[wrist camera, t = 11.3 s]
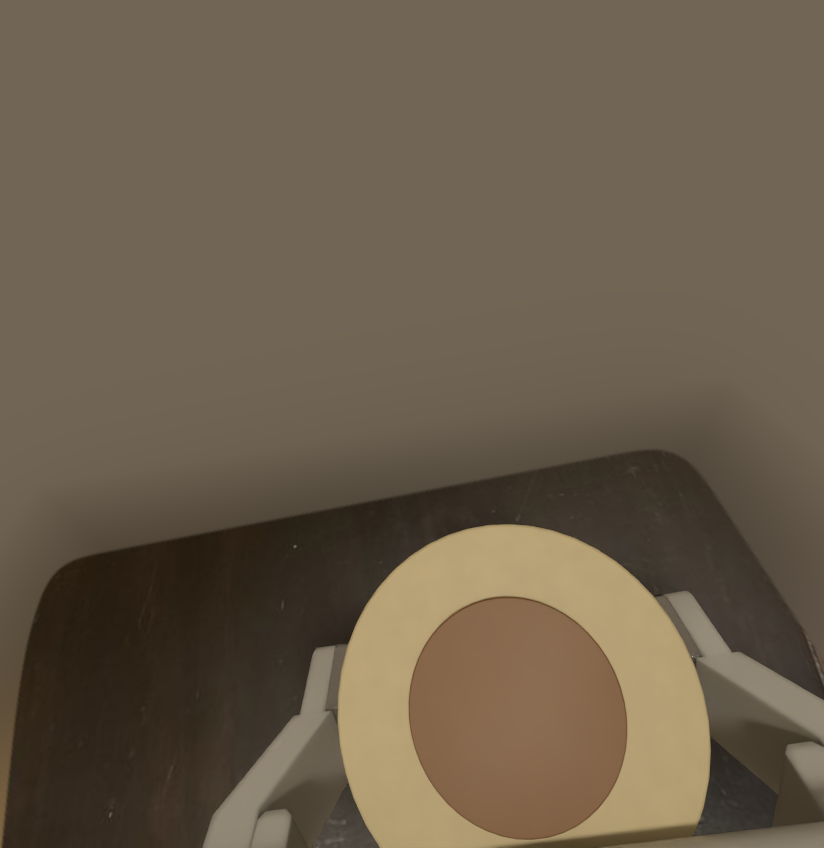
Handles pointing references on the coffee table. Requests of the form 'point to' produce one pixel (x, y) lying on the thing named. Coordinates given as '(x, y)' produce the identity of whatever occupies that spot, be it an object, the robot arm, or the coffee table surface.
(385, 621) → the tape stack
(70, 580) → the coffee table surface
